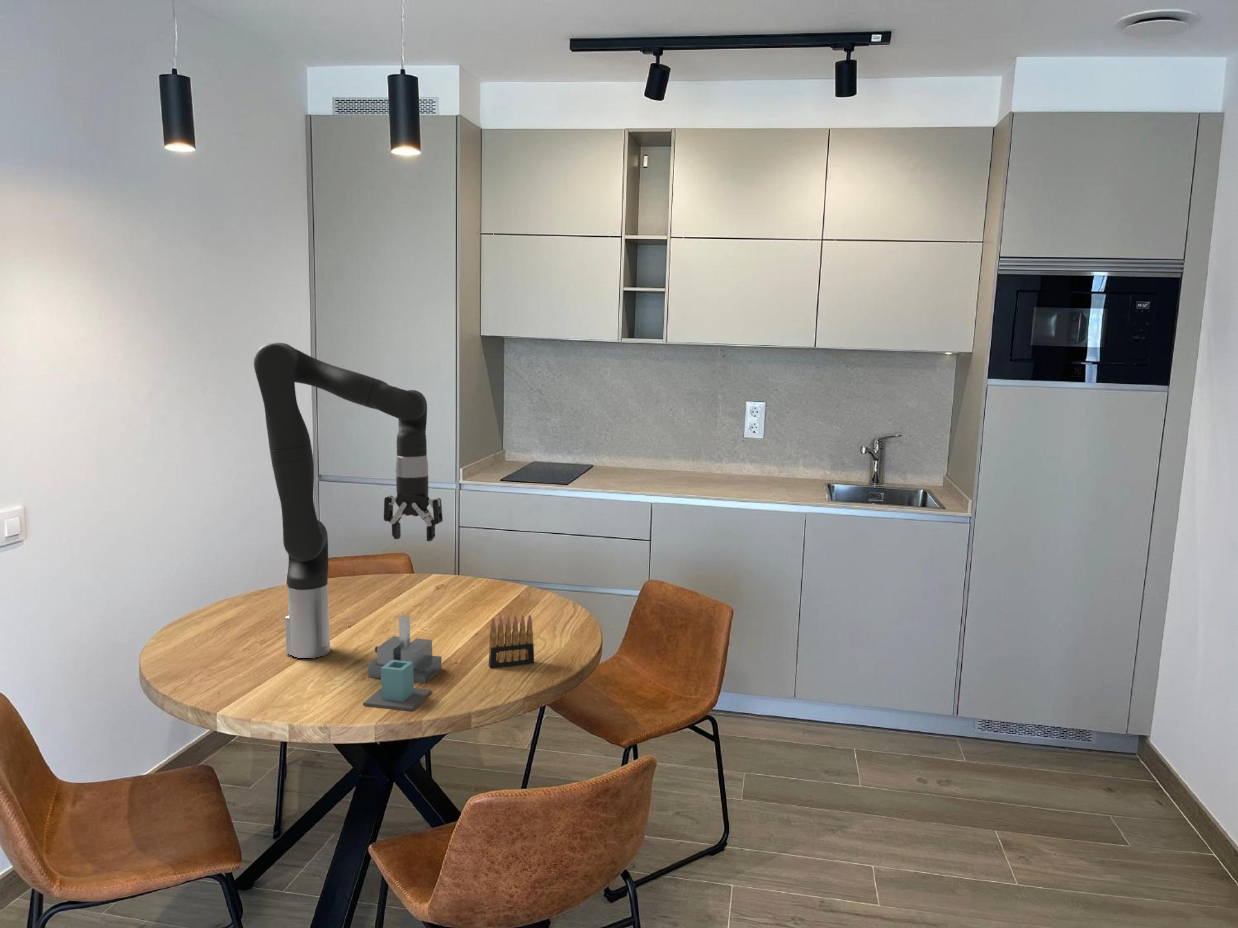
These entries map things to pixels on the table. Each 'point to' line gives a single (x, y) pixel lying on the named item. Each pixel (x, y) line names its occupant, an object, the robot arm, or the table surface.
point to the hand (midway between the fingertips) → (413, 539)
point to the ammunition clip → (511, 644)
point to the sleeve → (397, 680)
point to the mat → (406, 705)
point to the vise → (407, 654)
